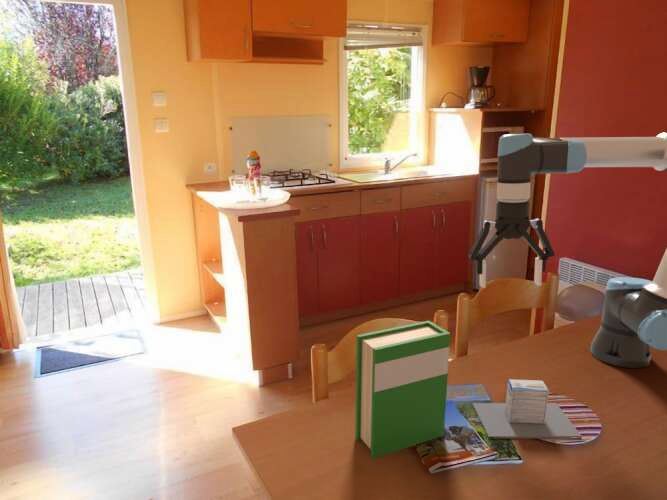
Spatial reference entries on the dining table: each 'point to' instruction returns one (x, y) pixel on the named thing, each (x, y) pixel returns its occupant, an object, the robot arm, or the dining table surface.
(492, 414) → the mat
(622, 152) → the robot arm
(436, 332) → the hardback book
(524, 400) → the medicine box
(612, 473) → the dining table surface
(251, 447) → the dining table surface
